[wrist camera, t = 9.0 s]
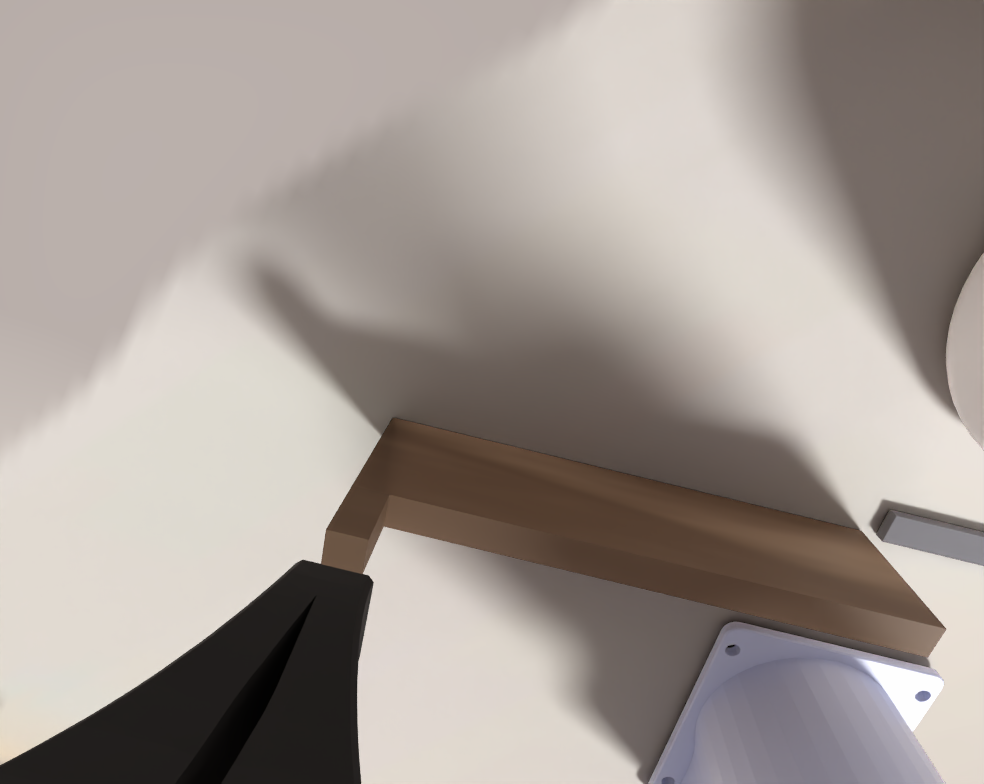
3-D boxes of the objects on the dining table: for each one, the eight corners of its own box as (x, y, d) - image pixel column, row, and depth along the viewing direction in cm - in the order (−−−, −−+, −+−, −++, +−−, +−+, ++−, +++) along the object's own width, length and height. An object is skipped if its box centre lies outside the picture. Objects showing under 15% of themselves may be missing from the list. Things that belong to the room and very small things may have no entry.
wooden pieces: (848, 555, 20) (978, 722, 14) (388, 443, 20) (321, 564, 14) (1223, -134, 13) (1794, -383, 7) (524, -309, 13) (507, -710, 7)
